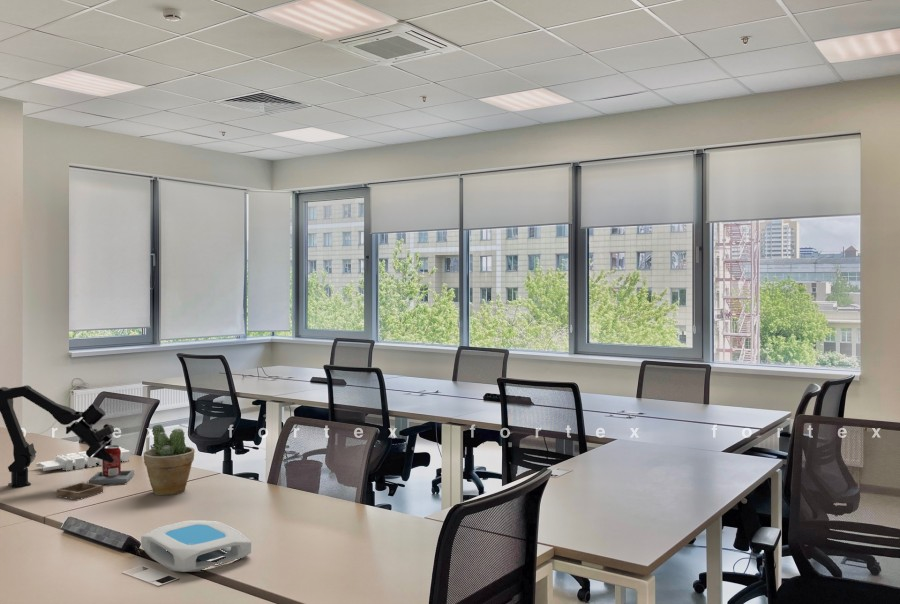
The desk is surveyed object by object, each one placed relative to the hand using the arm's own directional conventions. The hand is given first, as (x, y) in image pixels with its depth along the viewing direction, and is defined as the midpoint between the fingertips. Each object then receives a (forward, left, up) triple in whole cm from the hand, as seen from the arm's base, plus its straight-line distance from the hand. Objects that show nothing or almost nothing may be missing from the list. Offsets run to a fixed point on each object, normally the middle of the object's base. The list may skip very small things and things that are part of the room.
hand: (115, 459), depth 296 cm
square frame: (+12, -17, -8) cm, 23 cm away
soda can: (-1, -1, -7) cm, 7 cm away
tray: (-1, -1, -8) cm, 8 cm away
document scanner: (+101, -13, -9) cm, 103 cm away
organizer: (-36, -1, -9) cm, 37 cm away
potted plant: (+31, +9, -8) cm, 34 cm away
